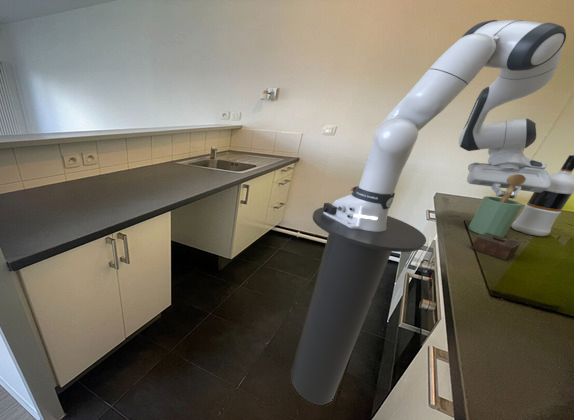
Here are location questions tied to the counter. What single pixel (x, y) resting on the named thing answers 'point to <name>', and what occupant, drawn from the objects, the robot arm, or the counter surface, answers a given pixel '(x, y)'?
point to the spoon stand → (495, 246)
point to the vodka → (547, 203)
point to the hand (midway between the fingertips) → (506, 196)
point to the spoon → (512, 185)
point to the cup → (494, 216)
